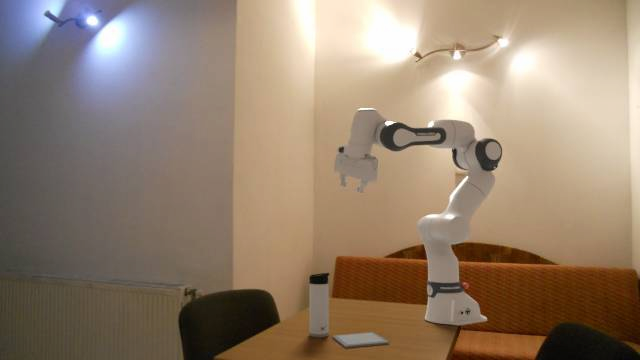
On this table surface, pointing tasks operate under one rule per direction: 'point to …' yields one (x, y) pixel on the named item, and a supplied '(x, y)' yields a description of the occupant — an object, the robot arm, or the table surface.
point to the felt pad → (359, 340)
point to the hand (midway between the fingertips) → (351, 189)
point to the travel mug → (319, 305)
